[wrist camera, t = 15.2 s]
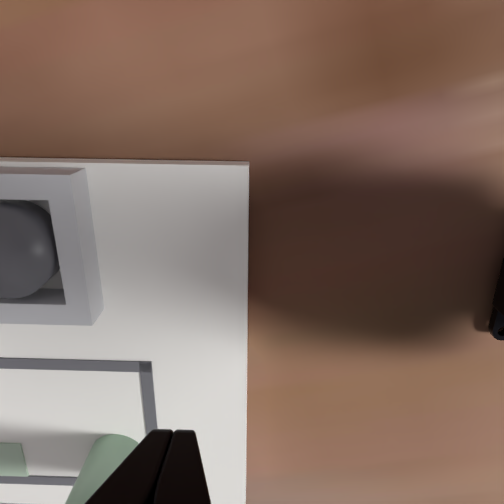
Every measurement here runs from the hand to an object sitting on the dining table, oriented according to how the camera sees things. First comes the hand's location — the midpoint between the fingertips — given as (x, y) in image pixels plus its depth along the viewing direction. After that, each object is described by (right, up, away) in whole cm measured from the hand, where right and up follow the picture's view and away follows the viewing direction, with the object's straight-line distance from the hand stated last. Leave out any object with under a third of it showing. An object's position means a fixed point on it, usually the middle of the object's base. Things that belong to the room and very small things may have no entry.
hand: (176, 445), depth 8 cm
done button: (-9, +4, +10) cm, 14 cm away
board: (-9, -1, +14) cm, 16 cm away
